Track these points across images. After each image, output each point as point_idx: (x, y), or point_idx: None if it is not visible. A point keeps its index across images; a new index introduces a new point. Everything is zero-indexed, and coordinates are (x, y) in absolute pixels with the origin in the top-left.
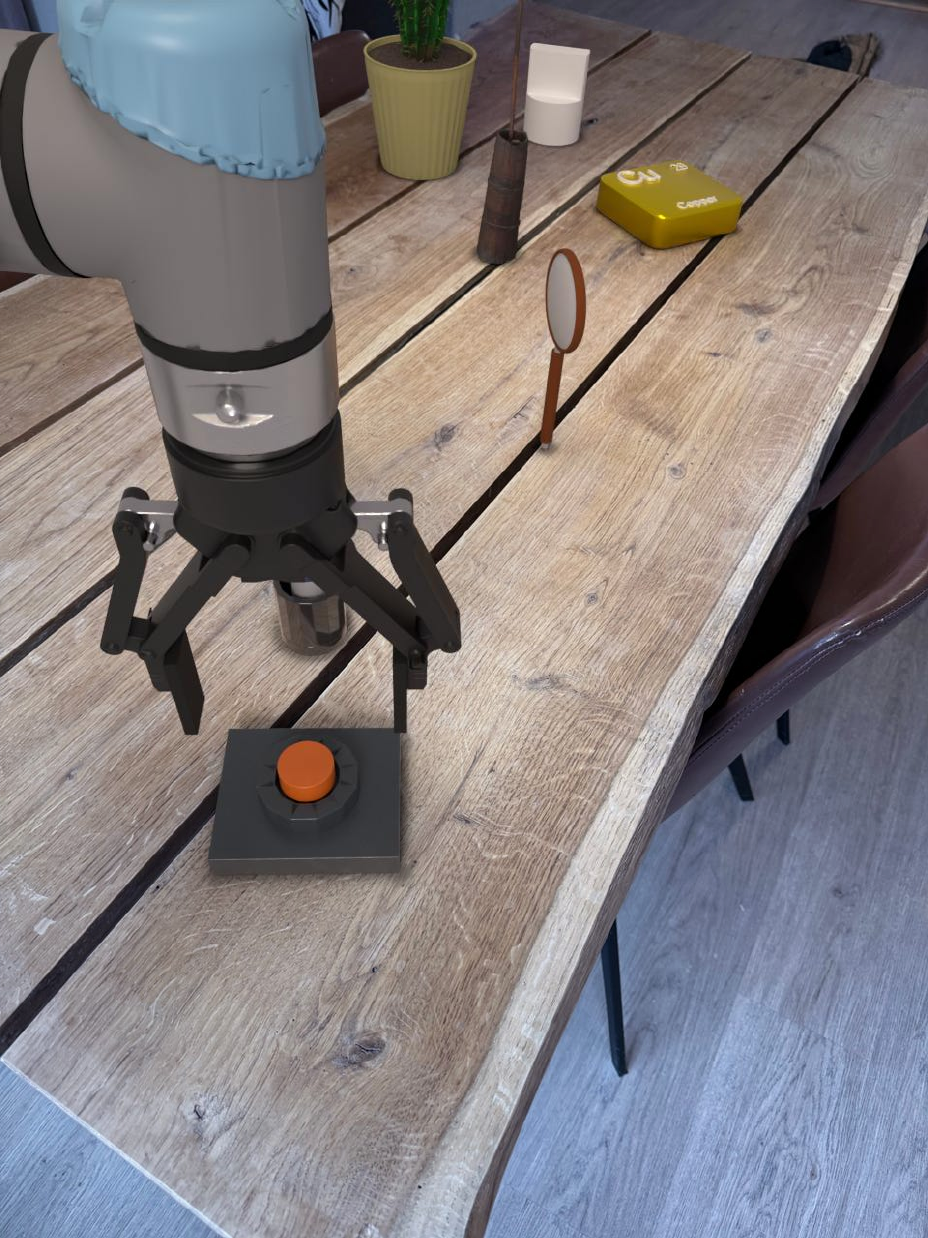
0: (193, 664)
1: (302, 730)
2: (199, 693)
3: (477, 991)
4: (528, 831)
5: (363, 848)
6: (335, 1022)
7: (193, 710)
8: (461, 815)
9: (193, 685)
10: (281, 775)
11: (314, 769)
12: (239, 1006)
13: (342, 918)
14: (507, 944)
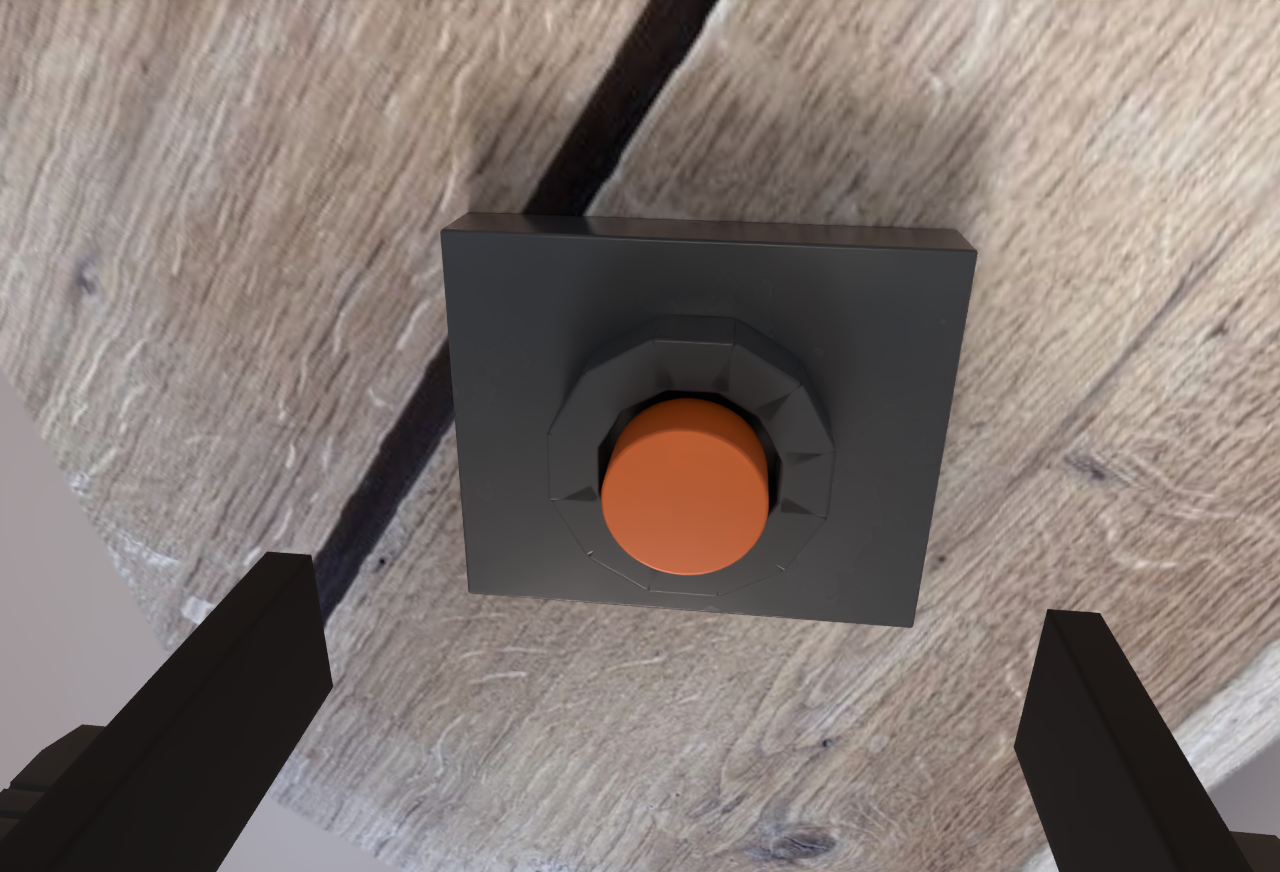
0: (188, 724)
1: (662, 247)
2: (278, 640)
3: (1020, 796)
4: (1255, 512)
5: (827, 601)
6: (750, 806)
7: (278, 742)
8: (1086, 457)
9: (233, 733)
10: (616, 537)
11: (710, 527)
12: (582, 767)
13: (767, 654)
14: None
